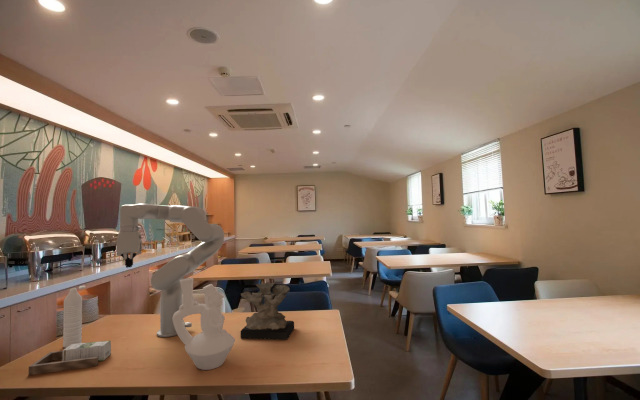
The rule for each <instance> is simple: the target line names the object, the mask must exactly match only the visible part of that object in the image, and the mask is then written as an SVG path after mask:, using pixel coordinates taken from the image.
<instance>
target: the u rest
mask: <svg viewBox="0 0 640 400" xmlns="http://www.w3.org/2000/svg"><path fill="white" fill-rule="evenodd" d="M62 352H63V350H58V351H57V350H55V351H50V352H48V353H46V354H45V355H43V357H40V358H39V359H38V360H36V361H35V362H33V363H32V364H30V365H29V366H28V376H34V375H40V374H41V375H42V374H48V373H56V372H63V370H64V371H70V370H78V369H84V368H85V369H86V368H93V367H97V366H98V365H99V361H98V357H91V358H83V359H75V360H67V361H62ZM53 360H54V361H53ZM60 360H61V361H60Z"/></svg>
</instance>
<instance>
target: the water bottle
mask: <svg viewBox="0 0 640 400" xmlns="http://www.w3.org/2000/svg"><path fill="white" fill-rule="evenodd" d="M86 287H87V286H86V285H80V286H78V289H79V290H81V289H85V288H86ZM78 289H77V287H73V288H72V287H71V288H70V289H69V292H68V294H67V295H66V296H65V297H64V299H63V319H62V320H63V326H62V327H63V332H62V333H63V334H62V340H63V341H62V347H63V348H64V349H65V348H67V347H68V346H70V345H71V344H78V343H83V341H82V340H83V338H82V335H83V329H82V327H83V320H82V319H83V314H82V313H83V297H82V295H81V294H80V293H79V292H78Z"/></svg>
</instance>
